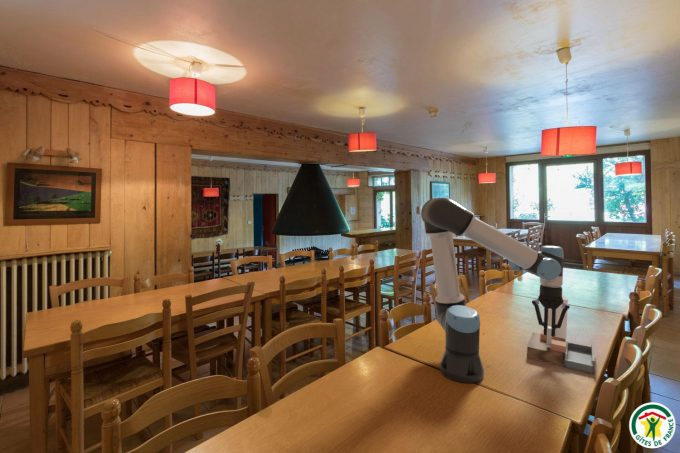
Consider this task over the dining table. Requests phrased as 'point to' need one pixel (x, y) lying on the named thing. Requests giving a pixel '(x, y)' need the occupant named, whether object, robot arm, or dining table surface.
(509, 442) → the dining table surface
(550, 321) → the milk
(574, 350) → the tray
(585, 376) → the dining table surface
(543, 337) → the tile
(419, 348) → the dining table surface
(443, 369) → the robot arm
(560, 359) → the brown flat block
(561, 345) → the tile
